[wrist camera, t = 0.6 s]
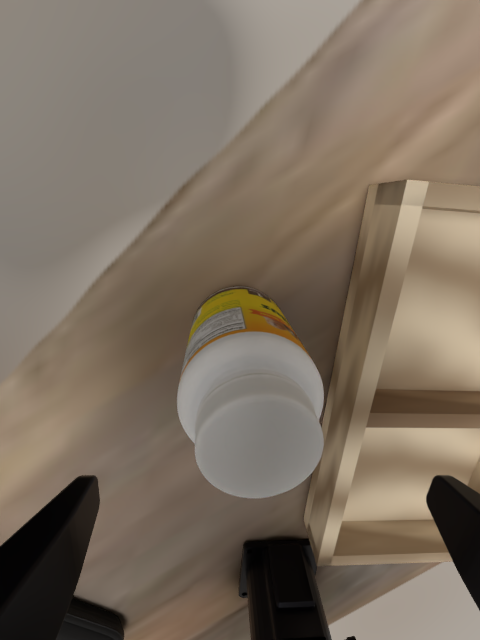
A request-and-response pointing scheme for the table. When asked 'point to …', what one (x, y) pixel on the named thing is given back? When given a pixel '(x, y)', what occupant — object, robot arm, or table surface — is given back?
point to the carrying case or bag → (89, 624)
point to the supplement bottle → (250, 396)
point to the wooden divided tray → (401, 378)
